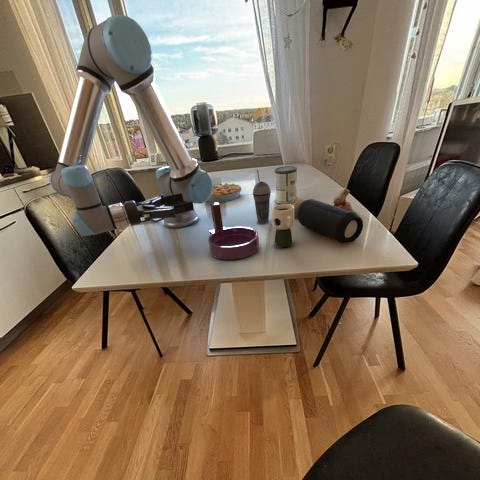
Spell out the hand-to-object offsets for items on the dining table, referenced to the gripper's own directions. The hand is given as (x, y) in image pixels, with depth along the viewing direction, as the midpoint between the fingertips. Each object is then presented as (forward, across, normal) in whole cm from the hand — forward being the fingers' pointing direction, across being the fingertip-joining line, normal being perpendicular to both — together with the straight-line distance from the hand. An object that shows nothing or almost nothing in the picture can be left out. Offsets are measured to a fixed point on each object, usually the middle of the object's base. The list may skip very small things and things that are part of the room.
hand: (187, 201), depth 99 cm
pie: (+31, -52, -15) cm, 62 cm away
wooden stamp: (+10, 0, -15) cm, 18 cm away
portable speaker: (+43, +23, -15) cm, 51 cm away
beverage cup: (+31, -3, -15) cm, 35 cm away
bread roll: (+47, -1, -15) cm, 49 cm away
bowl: (+10, +15, -16) cm, 24 cm away
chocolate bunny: (+62, +9, -15) cm, 64 cm away
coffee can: (+53, -22, -15) cm, 60 cm away
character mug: (+26, +22, -16) cm, 37 cm away
